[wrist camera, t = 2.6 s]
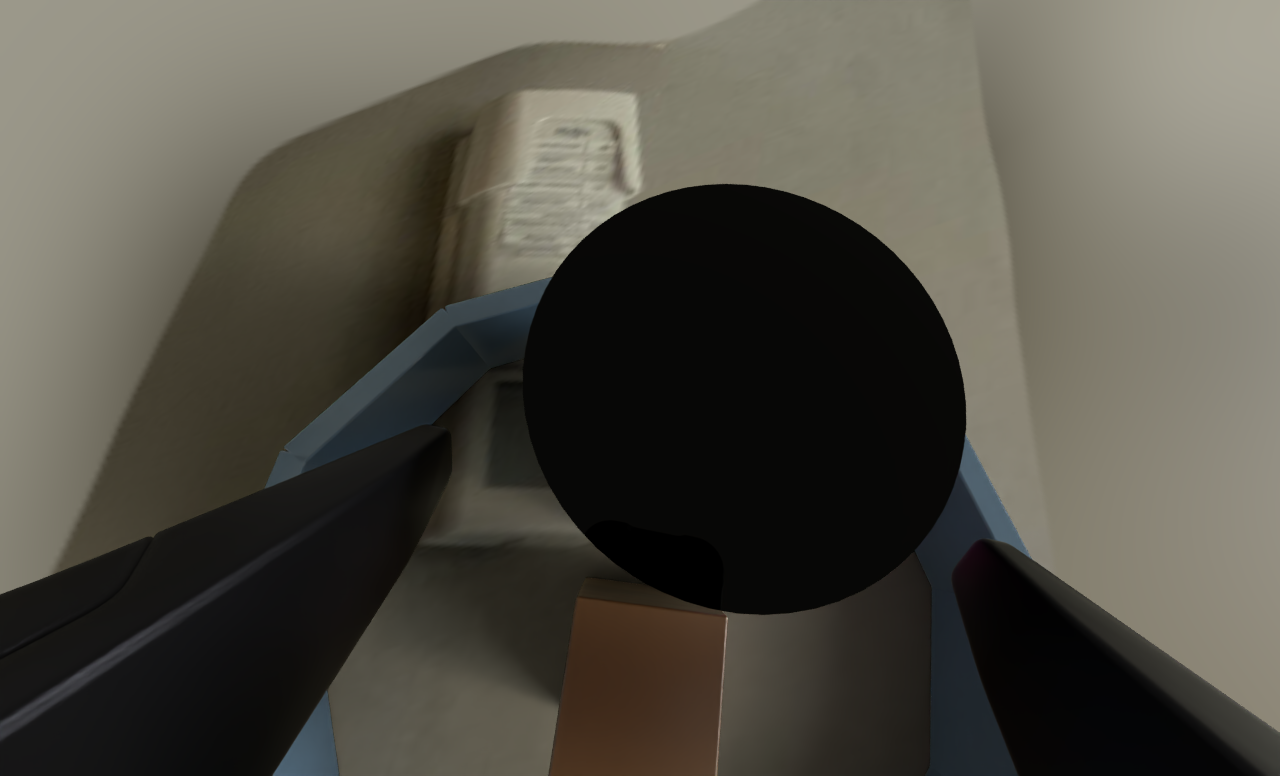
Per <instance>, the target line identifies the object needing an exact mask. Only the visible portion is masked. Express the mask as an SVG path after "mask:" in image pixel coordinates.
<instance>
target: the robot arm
mask: <svg viewBox="0 0 1280 776" xmlns="http://www.w3.org/2000/svg"><path fill="white" fill-rule="evenodd" d="M451 472H452V450H451V434H450V432H449V430H448V429H446V428H443V427H438V426H433V425H428V424H424V425H420V426H418V427H415V428H413V429H410V430H408V431H405V432H403V433H400V434H398V435H396V436H393V437H391V438H388V439H386V440H383V441H381V442H378V443H376V444H374V445H371V446H369V447H366V448H364V449H361V450H359V451H356V452H354V453H351V454H349V455H347V456H344V457H342V458H339V459H337V460H334V461H332V462H329V463H327V464H325V465H322V466H320V467H317V468H315V469H312V470H310V471H307V472H305V473H303V474H300V475H298V476H295V477H293V478H290V479H288V480H285V481H283V482H281V483H278V484H276V485H273V486H271V487H268V488H266V489H263V490H261V491H258V492H256V493H254V494H251V495H249V496H246V497H244V498H241V499H239V500H236V501H234V502H231V503H229V504H227V505H224V506H222V507H219V508H217V509H214V510H212V511H209V512H207V513H205V514H202V515H200V516H197V517H195V518H192V519H190V520H187V521H185V522H182V523H180V524H178V525H175V526H173V527H170V528H168V529H165V530H163V531H160V532H158V533H157V534H156V535H155V536H154V538H153V537H145V538H143V539H140V540H138V541H136V542H133V543H131V544H128V545H126V546H123V547H121V548H118V549H116V550H114V551H111V552H109V553H106V554H104V555H101V556H99V557H96V558H94V559H91V560H89V561H86V562H83V563H81V564H78V565H76V566H73V567H71V568H68V569H66V570H63V571H61V572H58V573H56V574H53V575H50V576H48V577H45V578H43V579H40V580H38V581H35V582H33V583H30V584H27V585H25V586H22V587H19V588H16V589H14V590H11V591H8V592H6V593H3V594H1V595H0V776H273V774H274V773H275V771H276V769H277V768H278V766H279V765H280V763H281V762H282V760H283V758H284V757H285V755H286V754H287V752H288V751H289V749H290V747H291V746H292V744H293V743H294V741H295V740H296V738H297V736H298V735H299V733H300V732H301V730H302V729H303V727H304V725H305V724H306V722H307V721H308V719H309V718H310V716H311V714H312V713H313V711H314V710H315V708H316V707H317V705H318V703H319V702H320V700H321V699H322V697H323V696H324V694H325V692H326V691H327V689H328V688H329V686H330V685H331V683H332V681H333V680H334V678H335V677H336V675H337V674H338V672H339V670H340V669H341V667H342V666H343V664H344V663H345V661H346V659H347V658H348V656H349V655H350V653H351V652H352V650H353V648H354V647H355V645H356V644H357V642H358V641H359V639H360V637H361V636H362V634H363V633H364V631H365V630H366V628H367V626H368V625H369V623H370V622H371V620H372V619H373V617H374V615H375V614H376V612H377V611H378V609H379V608H380V606H381V604H382V603H383V601H384V600H385V598H386V597H387V595H388V593H389V592H390V590H391V589H392V587H393V586H394V584H395V582H396V581H397V579H398V578H399V576H400V575H401V573H402V571H403V570H404V568H405V566H406V565H407V563H408V561H409V559H410V558H411V556H412V554H413V552H414V550H415V548H416V546H417V544H418V542H419V540H420V538H421V536H422V534H423V532H424V530H425V528H426V526H427V524H428V522H429V520H430V518H431V516H432V514H433V512H434V510H435V508H436V506H437V504H438V502H439V499H440V497H441V495H442V493H443V491H444V489H445V487H446V485H447V483H448V481H449V479H450V476H451ZM951 582H952V587H953V590H954V594H955V597H956V600H957V604H958V607H959V610H960V614H961V617H962V621H963V624H964V627H965V631H966V634H967V638H968V641H969V644H970V648H971V651H972V655H973V658H974V661H975V665H976V668H977V671H978V674H979V677H980V680H981V683H982V685H983V688H984V691H985V693H986V696H987V699H988V701H989V704H990V706H991V709H992V711H993V714H994V716H995V719H996V721H997V724H998V726H999V729H1000V731H1001V734H1002V737H1003V739H1004V742H1005V744H1006V747H1007V749H1008V752H1009V754H1010V757H1011V759H1012V762H1013V764H1014V767H1015V769H1016V772H1017V775H1018V776H1280V732H1278V731H1277V730H1275V729H1274V728H1272V727H1271V726H1269V725H1268V724H1267V723H1265V722H1264V721H1262V720H1261V719H1259V718H1258V717H1257V716H1255V715H1254V714H1252V713H1251V712H1249V711H1248V710H1247V709H1245V708H1244V707H1242V706H1241V705H1239V704H1238V703H1237V702H1235V701H1234V700H1232V699H1231V698H1229V697H1228V696H1227V695H1225V694H1224V693H1222V692H1221V691H1219V690H1218V689H1217V688H1215V687H1214V686H1212V685H1211V684H1209V683H1208V682H1207V681H1205V680H1204V679H1202V678H1201V677H1199V676H1198V675H1197V674H1195V673H1194V672H1192V671H1191V670H1189V669H1188V668H1186V667H1185V666H1184V665H1182V664H1181V663H1179V662H1178V661H1177V660H1175V659H1174V658H1172V657H1171V656H1169V655H1168V654H1167V653H1165V652H1164V651H1162V650H1161V649H1159V648H1158V647H1156V646H1155V645H1154V644H1152V643H1151V642H1149V641H1148V640H1146V639H1145V638H1144V637H1142V636H1141V635H1139V634H1138V633H1136V632H1135V631H1134V630H1132V629H1131V628H1129V627H1128V626H1126V625H1125V624H1124V623H1122V622H1121V621H1119V620H1118V619H1116V618H1115V617H1114V616H1112V615H1111V614H1109V613H1108V612H1106V611H1105V610H1104V609H1102V608H1101V607H1099V606H1098V605H1096V604H1095V603H1093V602H1092V601H1091V600H1089V599H1088V598H1086V597H1085V596H1083V595H1082V594H1081V593H1079V592H1078V591H1076V590H1075V589H1074V588H1072V587H1071V586H1069V585H1068V584H1066V583H1065V582H1064V581H1062V580H1061V579H1059V578H1058V577H1056V576H1055V575H1054V574H1052V573H1051V572H1049V571H1048V570H1046V569H1045V568H1044V567H1042V566H1041V565H1039V564H1038V563H1036V562H1035V561H1033V560H1032V559H1031V558H1029V557H1028V556H1026V555H1025V554H1023V553H1022V552H1021V551H1019V550H1018V549H1016V548H1015V547H1013V546H1012V545H1010V544H1008V543H1005V542H1001V541H996V540H991V539H985V538H983V539H979V540H977V541H975V542H974V543H973V544H972V545H971V547H970V548H969V549H968V551H967V552H966V553H965V555H964V556H963V557H962V558H961V560H960V561H959V562H958V564H957V565H956V566H955V567H954V569H953V572H952V576H951Z"/></svg>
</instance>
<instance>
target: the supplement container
mask: <svg viewBox="0 0 1280 776" xmlns="http://www.w3.org/2000/svg"><path fill="white" fill-rule="evenodd" d="M523 398H524V407H525V416H526V421H527V425H528V430H529V434H530V439H531V442H532V445H533V448H534V451H535V454H536V457H537V460H538V463H539V465H540V467H541V469H542V471H543V474H544V476H545V478H546V480H547V482H548V484H549V486H550V488H551V489H552V491H553V493H554V494H555V496H556V498H557V499H558V501H559V503H560V504H561V506H562V508H563V509H564V510H565V512H566V513H567V514H568V516H569V517H570V518H571V520H572V521H573V522H574V523H575V525H576V526H577V527H578V529H579V530H580V531H581V532H582V533H583V534H584V535H585V536H586V537H587V538H588V539H589V540H590V541H591V542H592V543H593V544H594V546H595V547H597V548H598V549H599V550H600V551H601V552H602V553H604V554H605V555H606V556H607V557H608V558H609V559H610V560H612V561H613V562H614V563H615V564H617V565H618V566H619V567H621V568H622V569H624V570H625V571H627V572H628V573H630V574H631V575H632V576H634V577H635V578H637V579H639V580H640V581H642V582H644V583H646V584H648V585H650V586H651V587H653V588H655V589H657V590H659V591H661V592H663V593H666V594H668V595H670V596H673V597H675V598H678V599H680V600H683V601H685V602H688V603H692V604H695V605H699V606H702V607H706V608H709V609H714V610H720V611H726V612H732V613H739V614H758V615H769V614H785V613H793V612H799V611H804V610H810V609H815V608H818V607H822V606H825V605H828V604H831V603H835V602H838V601H840V600H843V599H845V598H847V597H849V596H852V595H854V594H856V593H858V592H861V591H862V590H864V589H866V588H867V587H869V586H871V585H872V584H874V583H876V582H877V581H879V580H881V579H882V578H884V577H885V576H886V575H888V574H889V573H890V572H891V571H893V570H894V569H895V568H896V567H898V566H899V565H900V564H901V563H902V562H903V561H904V560H905V559H906V558H907V557H908V556H909V555H910V554H911V553H912V552H913V551H915V550H916V549H917V548H918V546H919V545H920V544H921V542H922V541H923V540H924V539H925V537H926V536H927V535H928V533H929V532H930V531H931V530H932V528H933V526H934V525H935V523H936V522H937V520H938V518H939V517H940V515H941V513H942V512H943V510H944V508H945V506H946V503H947V501H948V499H949V497H950V495H951V492H952V490H953V488H954V485H955V481H956V478H957V475H958V472H959V469H960V465H961V460H962V455H963V450H964V443H965V432H966V400H965V392H964V384H963V378H962V374H961V369H960V365H959V360H958V357H957V354H956V351H955V348H954V345H953V342H952V339H951V337H950V334H949V332H948V330H947V327H946V325H945V323H944V321H943V319H942V317H941V315H940V313H939V311H938V310H937V308H936V306H935V304H934V302H933V301H932V299H931V298H930V296H929V295H928V293H927V292H926V290H925V289H924V287H923V286H922V284H921V283H920V282H919V280H918V279H917V278H916V277H915V275H914V274H913V273H912V272H911V271H910V269H909V268H908V267H907V266H906V265H905V264H904V263H903V262H902V261H901V260H900V259H899V258H898V256H897V255H896V254H895V253H894V252H893V251H892V250H890V249H889V248H888V247H887V246H886V245H885V244H883V243H882V242H881V241H880V240H879V239H878V238H877V237H875V236H874V235H872V234H871V233H870V232H868V231H867V230H866V229H864V228H863V227H862V226H860V225H859V224H857V223H855V222H854V221H852V220H850V219H849V218H847V217H846V216H844V215H842V214H840V213H838V212H836V211H834V210H832V209H830V208H828V207H826V206H824V205H822V204H819V203H817V202H814V201H812V200H809V199H807V198H804V197H801V196H798V195H795V194H791V193H788V192H784V191H780V190H775V189H771V188H766V187H758V186H751V185H737V184H715V185H702V186H694V187H687V188H683V189H678V190H674V191H669V192H666V193H663V194H660V195H657V196H654V197H651V198H648V199H646V200H643V201H641V202H639V203H637V204H634V205H632V206H630V207H628V208H626V209H625V210H623V211H621V212H619V213H617V214H616V215H614V216H612V217H611V218H610V219H608V220H607V221H605V222H604V223H602V224H601V225H600V226H598V227H597V228H596V229H595V230H593V231H592V232H591V233H590V234H589V235H588V236H586V237H585V238H584V239H583V240H582V241H581V242H580V243H579V244H578V245H577V246H576V247H575V248H574V249H573V250H572V251H571V253H570V254H569V255H568V256H567V257H566V259H565V260H564V261H563V263H562V264H561V265H560V267H559V268H558V269H557V270H556V272H555V274H554V275H553V277H552V279H551V280H550V282H549V284H548V285H547V287H546V289H545V291H544V293H543V295H542V297H541V299H540V302H539V304H538V306H537V308H536V311H535V314H534V317H533V320H532V323H531V326H530V330H529V334H528V339H527V343H526V348H525V356H524V365H523Z"/></svg>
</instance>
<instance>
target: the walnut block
mask: <svg viewBox="0 0 1280 776" xmlns="http://www.w3.org/2000/svg"><path fill="white" fill-rule="evenodd" d="M727 623H728V618H727V616H726V615H725V614H724V613H723V612H722V611H720V610H714V609H709V608H706V607H702V606H699V605H695V604H692V603H688V602H685V601H683V600H680V599H678V598H675V597H673V596H670V595H668V594H666V593H663V592H661V591H659V590H657V589H655V588H653V587H651V586H650V585H644V584H636V583H628V582H621V581H613V580H606V579H598V578H591V577H586V579H585V581H584V583H583V585H582V587H581V589H580V591H579V593H578V595H577V597H576V601H575V607H574V614H573V620H572V627H571V633H570V640H569V646H568V652H567V659H566V665H565V672H564V678H563V685H562V691H561V698H560V704H559V710H558V717H557V723H556V730H555V736H554V743H553V749H552V756H551V762H550V768H549V775H548V776H717V773H718V758H719V743H720V728H721V713H722V698H723V683H724V668H725V653H726V638H727Z"/></svg>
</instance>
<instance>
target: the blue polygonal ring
mask: <svg viewBox="0 0 1280 776" xmlns="http://www.w3.org/2000/svg"><path fill="white" fill-rule="evenodd" d="M551 279H552V277H550V278H546V279H543V280H539V281H535V282H531V283H528V284H524V285H520V286H517V287H513V288H509V289H506V290H502V291H498V292H495V293H491V294H487V295H483V296H480V297H476V298H472V299H469V300H465V301H461V302H458V303H454V304H450V305H447V306H445V309H446V311H445V310H444V309H442V308H441V309H440V310H438V311H437V312H436V313H435V314H434V315H433V316H432V317H430V318H429V319H428V320H427V321H426V322H425V323H424V324H422V325H421V326H420V327H419V328H418V329H417V330H416V331H414V332H413V333H412V334H411V335H410V336H409V337H408V338H407V339H405V340H404V341H403V342H402V343H401V344H400V345H399V346H397V347H396V348H395V349H394V350H393V351H392V352H391V353H389V354H388V355H387V356H386V357H385V358H384V359H383V360H382V361H380V362H379V363H378V364H377V365H376V366H375V367H374V368H372V369H371V370H370V371H369V372H368V373H367V374H366V375H364V376H363V377H362V378H361V379H360V380H359V381H358V382H357V383H355V384H354V385H353V386H352V387H351V388H350V389H349V390H347V391H346V392H345V393H344V394H343V395H342V396H341V397H339V398H338V399H337V400H336V401H335V402H334V403H333V404H332V405H330V406H329V407H328V408H327V409H326V410H325V411H324V412H322V413H321V414H320V415H319V416H318V417H317V418H316V419H314V420H313V421H312V422H311V423H310V424H309V425H308V426H307V427H305V428H304V429H303V430H302V431H301V432H300V433H299V434H297V435H296V436H295V437H294V438H293V439H292V440H291V441H289V442H288V443H287V444H286V445H285V446H284V448H285V449H286V450H287V451H284V450H282V451H280V453H279V455H278V458H277V460H276V462H275V465H274V467H273V469H272V472H271V474H270V476H269V479H268V481H267V483H266V486H265V488H264V489H266V488H268V487H271V486H273V485H276V484H278V483H281V482H283V481H285V480H288V479H290V478H293V477H295V476H298V475H300V474H303V473H305V472H307V471H310V470H312V469H315V468H317V467H320V466H322V465H325V464H327V463H329V462H332V461H334V460H337V459H339V458H342V457H344V456H347V455H349V454H351V453H354V452H356V451H359V450H361V449H364V448H366V447H369V446H371V445H374V444H376V443H378V442H381V441H383V440H386V439H388V438H391V437H393V436H396V435H398V434H400V433H403V432H405V431H408V430H410V429H413V428H415V427H418V426H420V425H424V424H428V425H432V424H433V423H434V422H435V421H436V420H437V419H438V418H439V417H440V416H441V415H442V414H443V413H444V412H445V411H446V410H447V409H448V408H449V407H450V406H451V405H452V404H454V403H455V402H456V401H457V400H458V399H459V398H460V397H461V396H462V395H463V394H464V393H465V392H466V391H467V390H468V389H469V388H470V387H471V386H472V385H473V384H474V383H476V382H477V381H478V380H479V379H480V378H481V377H482V376H483V375H484V374H485V373H486V372H487V371H488V370H489V369H490V368H493V367H497V366H500V365H504V364H507V363H510V362H514V361H517V360H521V359H524V356H525V348H526V343H527V339H528V334H529V330H530V326H531V323H532V320H533V317H534V314H535V311H536V308H537V306H538V304H539V302H540V299H541V297H542V295H543V293H544V291H545V289H546V287H547V285H548V284H549V282H550V280H551ZM983 538H985V539H991V540H996V541H1001V542H1005V543H1008V544H1010V545H1012V546H1013V547H1015V548H1016V549H1018V550H1019V551H1021V552H1022V553H1023V554H1025V555H1026V556H1028V557H1029V558H1031V557H1030V555H1029V553H1028V551H1027V549H1026V547H1025V545H1024V543H1023V542H1022V540H1021V538H1020V536H1019V534H1018V532H1017V530H1016V528H1015V527H1014V525H1013V523H1012V521H1011V519H1010V517H1009V515H1008V513H1007V512H1006V510H1005V508H1004V506H1003V504H1002V502H1001V500H1000V498H999V497H998V495H997V493H996V491H995V489H994V487H993V485H992V483H991V481H990V480H989V478H988V476H987V474H986V472H985V470H984V468H983V466H982V465H981V463H980V461H979V459H978V457H977V455H976V453H975V451H974V450H973V448H972V446H971V444H970V442H969V440H968V438H967V436H966V435H965V443H964V450H963V455H962V460H961V465H960V469H959V472H958V475H957V478H956V481H955V485H954V488H953V490H952V492H951V495H950V497H949V499H948V501H947V503H946V506H945V508H944V510H943V512H942V513H941V515H940V517H939V518H938V520H937V522H936V523H935V525H934V526H933V528H932V530H931V531H930V532H929V533H928V535H927V536H926V537H925V539H924V540H923V541H922V542H921V544H920V545H919V546H918V548H917V549H916V550H915V553H916V555H917V557H918V559H919V562H920V564H921V566H922V568H923V570H924V572H925V574H926V576H927V579H928V581H929V583H930V585H931V587H932V601H931V705H930V766H929V768H928V770H927V772H926V774H925V775H924V776H1018V775H1017V772H1016V769H1015V767H1014V764H1013V762H1012V759H1011V757H1010V754H1009V752H1008V749H1007V747H1006V744H1005V742H1004V739H1003V737H1002V734H1001V731H1000V729H999V726H998V724H997V721H996V719H995V716H994V714H993V711H992V709H991V706H990V704H989V701H988V699H987V696H986V693H985V691H984V688H983V685H982V683H981V680H980V677H979V674H978V671H977V668H976V665H975V661H974V658H973V655H972V651H971V648H970V644H969V641H968V638H967V634H966V631H965V627H964V624H963V621H962V617H961V614H960V610H959V607H958V604H957V600H956V597H955V594H954V590H953V587H952V582H951V576H952V572H953V569H954V567H955V566H956V565H957V564H958V562H959V561H960V560H961V558H962V557H963V556H964V555H965V553H966V552H967V551H968V549H969V548H970V547H971V545H972V544H973V543H974V542H975V541H977V540H979V539H983ZM1031 559H1032V558H1031ZM273 776H339V769H338V762H337V755H336V748H335V741H334V734H333V727H332V720H331V713H330V706H329V699H328V692H327V691H326V692H325V694H324V696H323V697H322V699H321V700H320V702H319V703H318V705H317V707H316V708H315V710H314V711H313V713H312V714H311V716H310V718H309V719H308V721H307V722H306V724H305V725H304V727H303V729H302V730H301V732H300V733H299V735H298V736H297V738H296V740H295V741H294V743H293V744H292V746H291V747H290V749H289V751H288V752H287V754H286V755H285V757H284V758H283V760H282V762H281V763H280V765H279V766H278V768H277V769H276V771H275V773H274V774H273Z"/></svg>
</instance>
